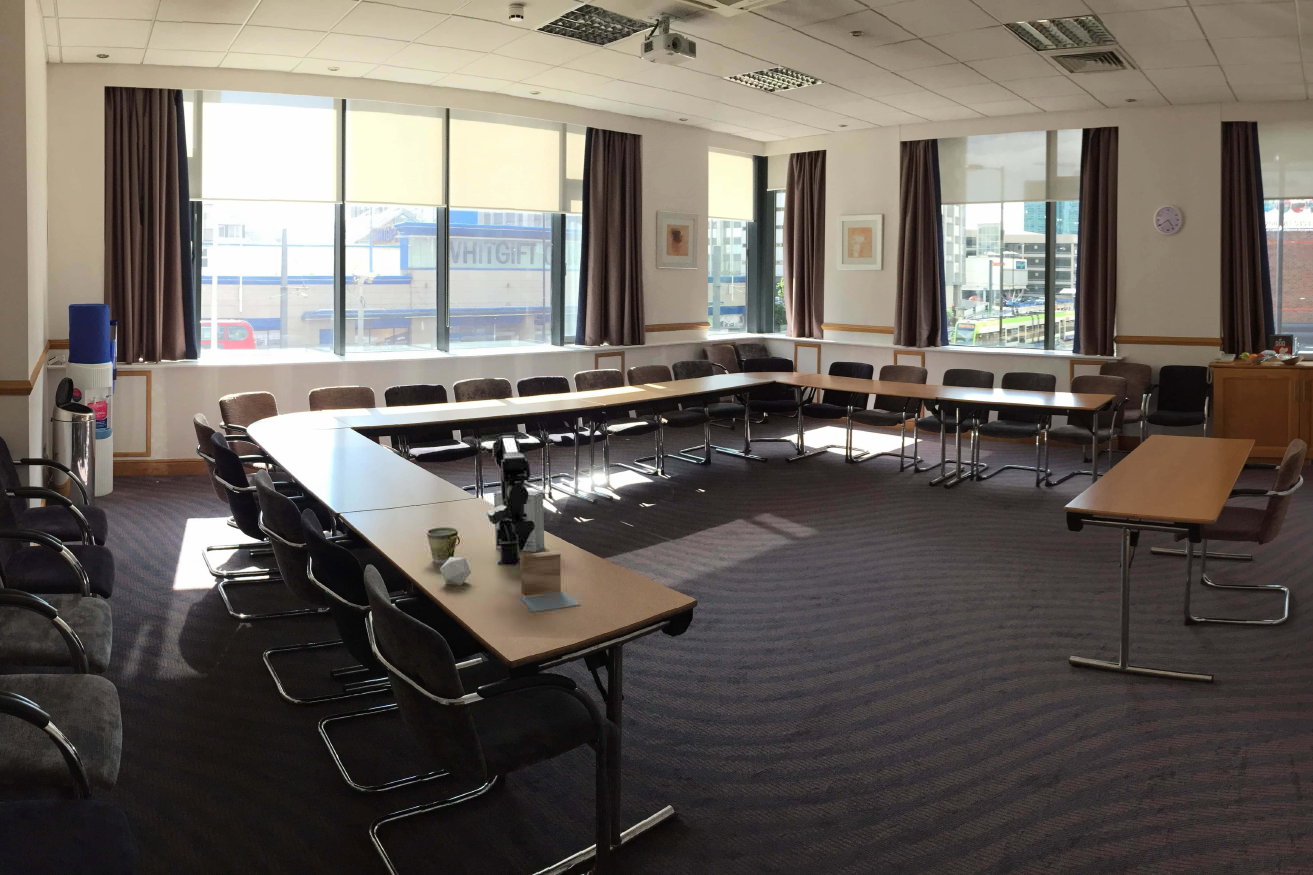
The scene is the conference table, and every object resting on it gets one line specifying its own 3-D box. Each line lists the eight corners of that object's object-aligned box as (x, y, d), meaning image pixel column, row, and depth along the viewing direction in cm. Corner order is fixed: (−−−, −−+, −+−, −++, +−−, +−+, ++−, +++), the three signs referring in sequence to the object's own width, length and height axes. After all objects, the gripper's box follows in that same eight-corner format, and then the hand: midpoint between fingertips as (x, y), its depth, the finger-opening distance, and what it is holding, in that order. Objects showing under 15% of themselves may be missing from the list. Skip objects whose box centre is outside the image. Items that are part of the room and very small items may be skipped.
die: (475, 582, 289) (464, 554, 292) (471, 576, 281) (460, 548, 283) (450, 593, 287) (439, 565, 290) (445, 588, 279) (434, 559, 282)
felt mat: (520, 599, 272) (520, 598, 271) (566, 592, 277) (566, 591, 277) (532, 612, 261) (532, 611, 261) (580, 605, 267) (580, 604, 267)
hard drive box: (545, 546, 326) (544, 490, 322) (536, 552, 318) (535, 495, 315) (504, 543, 330) (503, 488, 327) (494, 548, 323) (493, 492, 319)
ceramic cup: (421, 561, 308) (420, 531, 306) (444, 554, 316) (443, 525, 315) (448, 568, 301) (447, 538, 299) (471, 560, 309) (470, 531, 307)
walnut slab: (521, 594, 276) (520, 554, 274) (556, 589, 281) (555, 550, 279) (525, 598, 273) (524, 558, 271) (560, 593, 277) (560, 554, 275)
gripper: (480, 492, 288) (481, 541, 291) (498, 506, 272) (499, 558, 275) (514, 489, 293) (515, 537, 296) (535, 502, 277) (535, 553, 280)
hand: (515, 546), depth 287 cm, fingers open, 9 cm apart
